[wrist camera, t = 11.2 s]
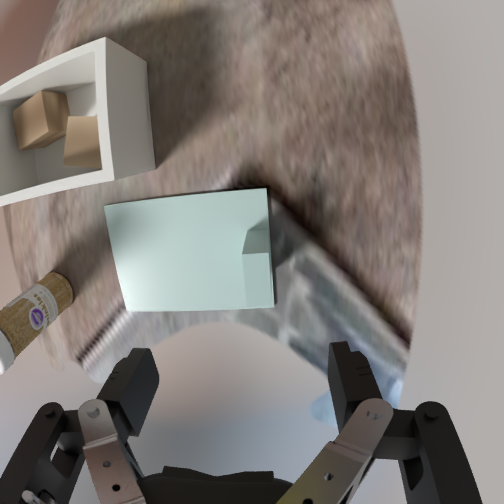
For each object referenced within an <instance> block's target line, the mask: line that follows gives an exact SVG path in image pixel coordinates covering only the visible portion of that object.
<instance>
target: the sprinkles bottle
mask: <svg viewBox="0 0 504 504" xmlns="http://www.w3.org/2000/svg"><path fill="white" fill-rule="evenodd" d="M72 301H73V292H72V288H71V286H70V284H69V282H68V281H67V280H66V279H65V278H64V277H63V276H62V275H60V274H58V273H53V272H52V273H48V274H47V275H46V276H45V277H44V278H43V279H42V280H40V281H39V282H37V283H36V284H35V285H32V286H31V287H30V288H28V289H27V290H26V291H24V292H23V293H22V294H20V295H19V296H18V297H17V298H15V299H14V300H12V301H11V302H10V303H9V304H7V305H6V306H5V307H3V309H2V310H1V311H0V374H3V373H4V372H5V371H6V370H7V369H8V368H9V367H10V366H11V365H12V364H13V363H14V360H15V358H16V357H17V356H18V355H19V354H20V353H21V351H23V350H24V349H25V348H26V347H27V346H28V345H29V344H30V343H31V342H32V341H33V340H34V339H35V338H36V337H37V336H38V335H40V334H41V333H42V332H43V331H44V330H45V329H46V328H47V327H48V326H49V325H50V324H51V323H52V322H53V321H54V320H55V319H56V318H57V316H58V315H59V314H60V313H62V312H63V311H64V310H65V309H66V308H68V307H69V306H70V305H71V304H72Z"/></svg>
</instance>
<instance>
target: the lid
mask: <svg viewBox="0 0 504 504" xmlns="http://www.w3.org/2000/svg"><path fill="white" fill-rule="evenodd" d="M104 210H105V216H106V221H107V227H108V232H109V237H110V242H111V247H112V252H113V256H114V261H115V265H116V269H117V274H118V278H119V282H120V286H121V290H122V294H123V297H124V301H125V305H126V309H127V311H198V310H228V309H251V308H270V307H274V295H273V278H272V262H271V247H270V232H269V218H268V204H267V190H266V188H259V189H245V190H233V191H222V192H211V193H201V194H191V195H182V196H173V197H164V198H156V199H148V200H140V201H133V202H125V203H118V204H111V205H105V206H104Z"/></svg>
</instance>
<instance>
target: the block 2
mask: <svg viewBox="0 0 504 504" xmlns="http://www.w3.org/2000/svg"><path fill="white" fill-rule="evenodd" d="M63 165H64V166H75V167H86V168H96V169H102V161H101V152H100V143H99V132H98V120H97V117H95V116H68V123H67V131H66V139H65V149H64V160H63Z"/></svg>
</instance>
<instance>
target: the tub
mask: <svg viewBox="0 0 504 504" xmlns="http://www.w3.org/2000/svg"><path fill="white" fill-rule="evenodd" d="M41 90H42V91H49V92H55V93H61V94H66V96H67V101H68V106H69V111H70V116H95V117H97V120H98V132H99V143H100V152H101V161H102V169H96V168H86V167H75V166H64V165H63V160H64V149H65V139H66V136H64V137H62V138H61V139H59V140H57V141H55V142H54V143H52V144H50V145H49V146H47V147H45V148H37V149H28V150H20V151H19V147H18V142H17V137H16V131H15V126H14V120H13V113H12V111H14V110H15V109H16V108H18V107H19V106H20V105H22V104H23V103H24V102H26V101H27V100H28V99H30V98H31V97H32V96H34V95H35V94H37V93H38V92H40V91H41ZM155 169H156V166H155V158H154V149H153V139H152V128H151V117H150V104H149V90H148V72H147V62H146V61H144V60H143V59H141V58H140V57H138V56H137V55H135V54H133V53H132V52H130V51H129V50H127V49H125V48H124V47H122V46H120V45H119V44H117V43H115V42H114V41H112V40H110V39H109V38H107V37H103V38H100V39H98V40H95V41H92V42H90V43H87V44H84V45H82V46H79V47H77V48H75V49H72V50H70V51H68V52H65V53H63V54H61V55H58V56H56V57H54V58H52V59H50V60H48V61H46V62H44V63H42V64H40V65H38V66H36V67H34V68H32V69H30V70H28V71H26V72H24V73H23V74H21V75H19V76H17V77H15V78H14V79H12V80H10V81H8V82H7V83H5V84H3V85H2V86H0V206H3V205H7V204H11V203H14V202H18V201H22V200H26V199H30V198H33V197H37V196H42V195H46V194H50V193H54V192H59V191H63V190H67V189H72V188H77V187H81V186H86V185H91V184H96V183H102V182H107V181H112V180H117V179H120V178H124V177H128V176H132V175H135V174H139V173H143V172H147V171H151V170H155Z"/></svg>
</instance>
